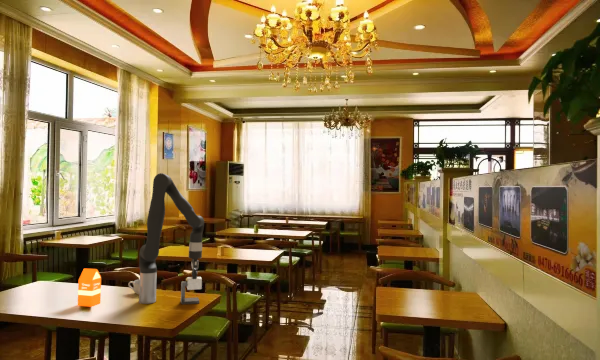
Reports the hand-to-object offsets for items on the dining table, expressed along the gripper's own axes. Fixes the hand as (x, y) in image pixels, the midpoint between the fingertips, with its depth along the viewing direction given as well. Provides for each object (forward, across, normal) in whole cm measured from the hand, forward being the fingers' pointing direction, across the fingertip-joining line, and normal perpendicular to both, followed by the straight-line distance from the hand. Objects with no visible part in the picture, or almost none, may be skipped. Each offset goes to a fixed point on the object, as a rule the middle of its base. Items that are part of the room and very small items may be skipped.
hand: (194, 277), depth 249 cm
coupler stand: (+14, 0, +2) cm, 15 cm away
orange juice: (+16, +8, +56) cm, 59 cm away
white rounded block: (+6, 0, 0) cm, 6 cm away
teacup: (+15, +28, +31) cm, 44 cm away
